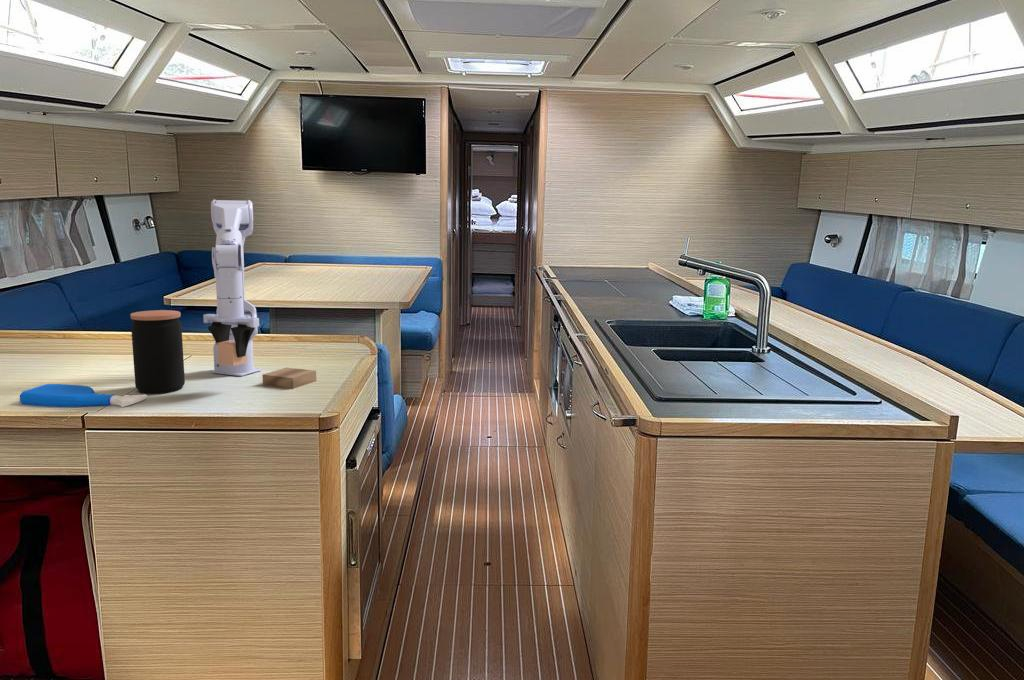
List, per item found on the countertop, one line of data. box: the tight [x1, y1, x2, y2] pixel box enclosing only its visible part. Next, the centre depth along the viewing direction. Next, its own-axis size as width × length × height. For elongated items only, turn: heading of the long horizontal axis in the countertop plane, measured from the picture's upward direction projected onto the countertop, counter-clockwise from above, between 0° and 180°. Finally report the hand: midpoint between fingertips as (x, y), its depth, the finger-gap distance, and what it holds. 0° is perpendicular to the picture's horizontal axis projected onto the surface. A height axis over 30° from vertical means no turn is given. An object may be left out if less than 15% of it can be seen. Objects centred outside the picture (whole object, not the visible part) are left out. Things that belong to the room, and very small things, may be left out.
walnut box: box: [262, 367, 317, 390], centre depth 189 cm, size 9×9×3 cm
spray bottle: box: [19, 383, 148, 408], centre depth 169 cm, size 3×11×24 cm
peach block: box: [217, 340, 247, 366], centre depth 179 cm, size 4×4×5 cm
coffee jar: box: [129, 309, 186, 395], centre depth 179 cm, size 11×11×18 cm
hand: (232, 355), depth 179 cm, fingers closed on peach block, 4 cm apart
